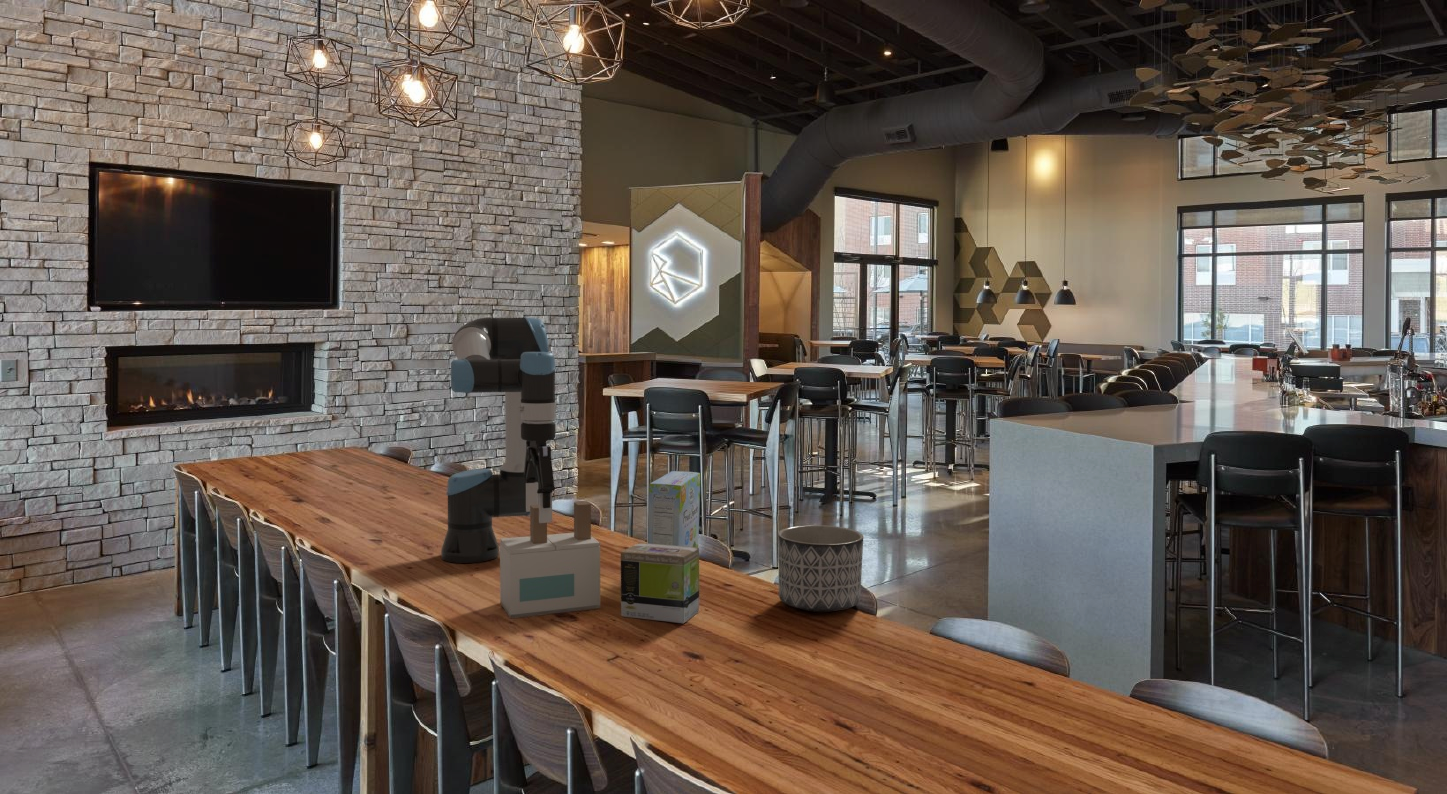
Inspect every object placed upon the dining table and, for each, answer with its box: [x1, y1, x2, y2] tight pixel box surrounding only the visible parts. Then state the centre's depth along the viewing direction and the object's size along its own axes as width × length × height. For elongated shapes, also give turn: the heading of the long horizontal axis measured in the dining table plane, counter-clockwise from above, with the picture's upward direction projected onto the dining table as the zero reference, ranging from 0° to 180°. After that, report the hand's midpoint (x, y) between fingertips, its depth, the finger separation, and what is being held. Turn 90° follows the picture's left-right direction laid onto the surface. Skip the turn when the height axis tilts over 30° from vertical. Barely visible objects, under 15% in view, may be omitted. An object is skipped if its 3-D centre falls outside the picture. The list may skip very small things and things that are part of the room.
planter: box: [777, 524, 864, 613], centre depth 213 cm, size 19×19×16 cm
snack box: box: [647, 470, 701, 548], centre depth 234 cm, size 22×9×26 cm, turn 168°
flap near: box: [499, 505, 555, 554], centre depth 208 cm, size 12×10×9 cm
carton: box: [499, 500, 601, 620], centre depth 211 cm, size 12×20×23 cm, turn 114°
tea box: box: [620, 542, 700, 624], centre depth 206 cm, size 15×10×15 cm, turn 71°
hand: (538, 516), depth 209 cm, fingers open, 13 cm apart
